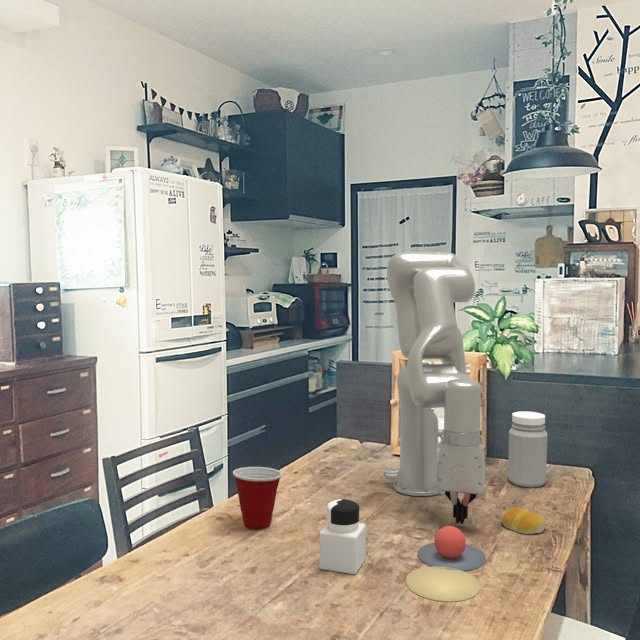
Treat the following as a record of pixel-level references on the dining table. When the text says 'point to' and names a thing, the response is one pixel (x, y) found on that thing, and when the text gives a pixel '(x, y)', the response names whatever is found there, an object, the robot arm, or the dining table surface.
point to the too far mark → (443, 584)
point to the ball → (450, 542)
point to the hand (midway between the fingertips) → (460, 521)
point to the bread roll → (523, 521)
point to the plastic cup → (257, 495)
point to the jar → (527, 449)
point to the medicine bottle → (342, 538)
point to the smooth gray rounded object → (464, 562)
